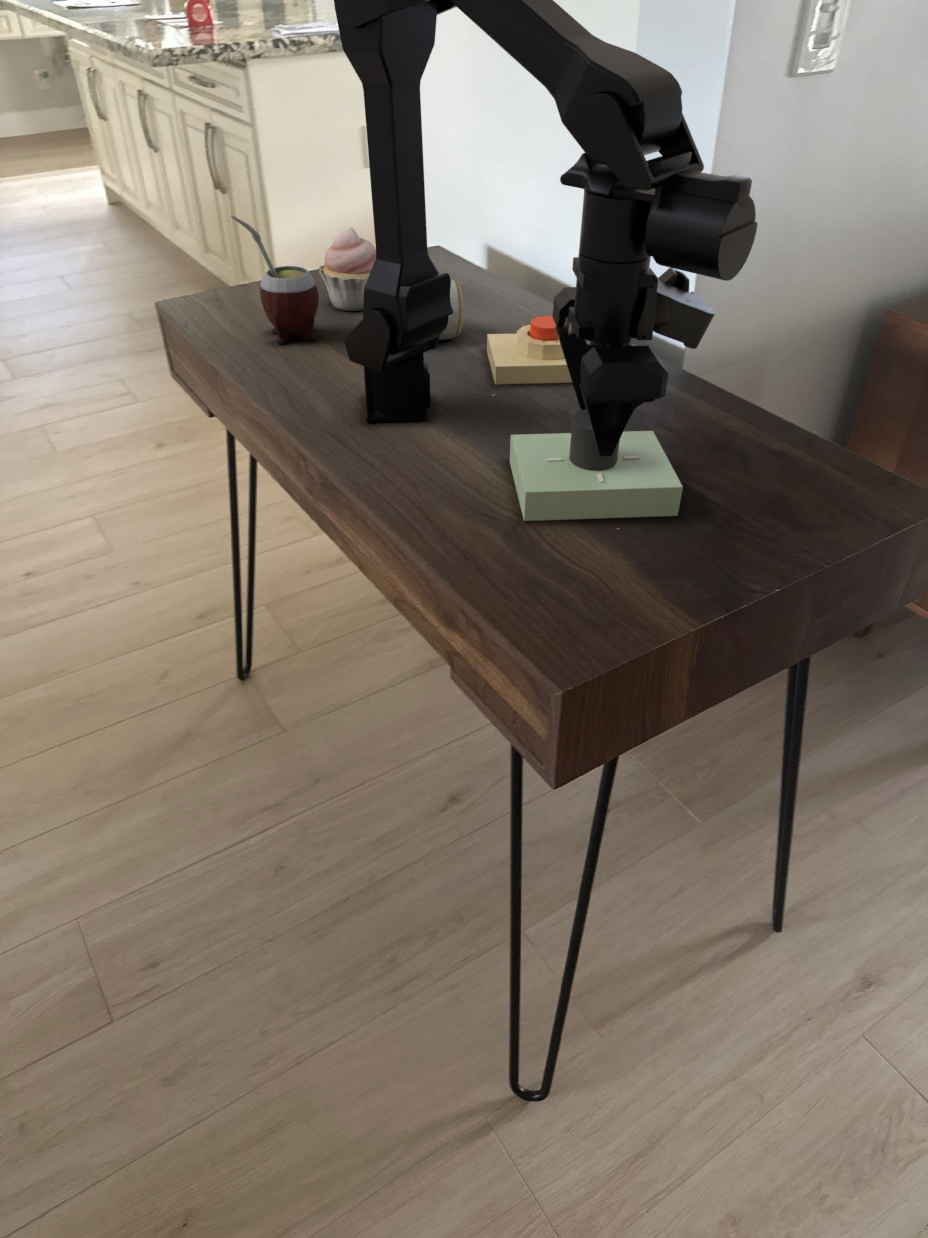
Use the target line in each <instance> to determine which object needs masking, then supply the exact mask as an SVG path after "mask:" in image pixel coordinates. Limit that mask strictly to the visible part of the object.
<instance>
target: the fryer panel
mask: <svg viewBox="0 0 928 1238" xmlns="http://www.w3.org/2000/svg"><path fill="white" fill-rule="evenodd" d="M509 442H510V444H509V445H510V447H509V465H510V470H511V473H512V474H511V475H512V478H513V481H514V486H515V490H516V494H517V498H518V502H519V507H520V510H521V514H522V519H523V521H524V522H537V521H538V522H539V521H567V520H595V519H596V520H597V519H599V520H600V519H624V518H653V517H654V518H656V517H678V516H679V511H680V505H681V500H682V494H683V489H684V486H683V484H682V483H681V481H680V479H679V477H678V475H677V473H676V472H675V469H674V467H673V466H672V464H671V462H670V460H669V458H668V456H667V454H666V453H665V451H664V449H663V447H662V445H661V443H660V441H659V440H658V437H657V435H656V434H655V431H654V430H633V431H632V430H631V431H630V430H629V431H623V433H622V436H621V438H620V442H619V450H618V458H617V462H616V464H615V465H614V466H613V467H611V468H608V469H605V470H587V469H583V468H580V467H578V466H576V465H574V464H573V463H572V462H571V461H570V459H569V454H570V443H571V432H562V433H561V432H560V433H557V432H556V433H526V434H525V433H523V434H522V433H521V434H510V441H509Z"/></svg>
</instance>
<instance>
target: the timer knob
mask: <svg viewBox="0 0 928 1238" xmlns="http://www.w3.org/2000/svg"><path fill="white" fill-rule="evenodd" d="M571 422H572V423H571V432H570V433H571V443H570V454H569V459H570V461H571V462H572V463H573V464H574V465H576V466H578V467H580V468H583V469H587V470H605V469H608V468H611V467H613V466H614V465H615V464H616V462H617V458H618V450H619V442H620V440H619V442H618V444H617V446H616V449H615V451H614V453H613V455H612V456H610V457H601V456H600V455H599V453H598V449H597V446H596V442H595V439H594V435H593V431H592V428H591V424H590V421H589V417H588V413H587V410H586V409H585V410H581V409H580V410H578V411H576V412H575V413H574V414H573V416H572V421H571Z"/></svg>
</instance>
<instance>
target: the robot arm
mask: <svg viewBox="0 0 928 1238" xmlns="http://www.w3.org/2000/svg"><path fill="white" fill-rule="evenodd" d="M333 5H334V11H335V17H336V22H337V27H338V32H339V33H338V34H339V38H340V42H341V48H342V50H343V53H344V54H345V56H346V58H347V60H348V62H349V63H350V65H351V67H352V68H353V70H354V72H355V73H356V75H357V77H358V79H359V81H360V83H361V85H362V91H363V102H364V103H363V104H364V115H365V128H366V129H365V130H366V141H367V153H368V164H369V165H368V166H369V167H368V168H369V179H370V190H371V191H370V192H371V206H372V216H373V229H374V230H373V231H374V243H375V249H376V259H375V262H374V264H373V267H372V269H371V272H370V274H369V277H368V279H367V282H366V284H365V287H364V301H363V310H362V319H361V320H360V321H359V322H358V324H357V325H356V326H355V327H354V328H353V330H351V331H350V333H349V334H348V335H347V336H346V337H345V338H344V341H343V344H344V346H345V350H346V353H347V357H348V359H349V361H350V362H352V363H355V364H358V365H360V366H363V376H364V379H363V380H364V391H365V392H364V394H365V407H364V408H365V411H364V413H365V415H364V419H365V422H366V423H397V422H400V423H401V422H424V421H427V420H428V416H427V410H428V409H430V408H431V371H430V364H429V363H428V362H425V356H424V353H426V352H429V351H433V350H435V349H437V347H438V344H439V341H440V340H439V337H440V334H441V333H442V332H443V331H444V330H445V329H446V328H447V325H448V318H449V315H451V314H453V309H452V306H451V301H450V287H451V280H452V279H451V275H450V274H449V273H448V272H439V270H438V269H437V267H436V265H435V263H434V261H433V260H432V258H431V257H430V255H429V251H428V232H427V210H426V209H427V208H426V189H425V169H424V165H425V164H424V145H423V126H422V125H423V123H422V121H423V120H422V101H421V81H422V78H423V75H424V72H425V70H426V68H427V65H428V62H429V59H430V58H431V54H432V52H433V49H434V47H435V42H436V32H437V18H438V15H441V14H443V13H446V12H449V11H451V10H453V9H455V8H457V9H458V10H460V11H461V12H462V13H463V14H464V15H465V16H466V17H467V18H468V19H469V20H470V21H471V22H473V23H474V24H475V26H477V27H478V28H479V29H481V30H482V31H483V32H484V33H485V34H486V35H487V36H488V37H489V38H490V39H492V41H494V42H495V43H496V44H497V45H499V47H500V48H501V49H503V50H504V51H505V52H506V53H507V54H508V55H509V56H510V57H511V58H512V59H514V60H515V61H516V62H517V63H518V64H519V65H520V66H522V68H524V70H526V71H527V72H528V73H529V74H530V76H532V77H534V79H536V80H537V81H538V82H539V83H540V84H541V85H542V86H544V88H545V89H546V91H547V92H548V93H549V95H551V98H553V100H554V101H555V105H556V108H557V112H558V114H559V118H560V121H561V123H562V125H563V126H564V128H566V130H567V131H568V133H569V134H570V135H571V137H572V138H573V139H574V140H575V142H576V143H577V144H578V145H579V147H580V148H581V149H582V151H583V153H581V155H580V157H579V159H578V160H577V161H576V162H575V163H574V164H573V165H572V166H571V167H570V168H568V170H566V171H565V172H564V173H563V174H561V175H560V177H559V182H560V183H561V185H563V186H566V187H567V186H568V187H572V188H577V189H582V190H583V199H582V210H581V211H582V212H581V224H580V234H579V248H578V256H577V257H576V256H573V257H572V272H573V274H574V275H575V277H576V281H575V283H576V284H575V286H568V287H567V286H565V287H563V288H562V289H561V290H560V291H559V292H558V293H557V294H556V295H555V296H554V297H553V305H552V317H553V320H554V322H555V324H556V326H555V329H556V332H557V335H558V338H559V342H560V345H561V348H562V351H563V354H564V358H565V361H566V364H567V367H568V371H569V373H570V377H571V380H572V382H571V383H572V385H573V390H574V393H575V397H576V400H577V402H578V406H579V408H580V411H581V410H585V409H586V410H587V413H588V417H589V421H590V424H591V428H592V431H593V435H594V439H595V442H596V446H597V449H598V453H599V455H600V456H601V457H610V456H612V455H613V453H614V451H615V449H616V446H617V444H618V442H619V440H620V438H621V436H622V433H623V432H625V429H626V427H627V425H628V423H629V421H630V419H631V417H632V415H633V413H634V412H635V410H636V409H637V408H638V407H640V406H641V405H642V404H645V403H651V402H654V401H655V400H660V399H662V398H663V397H665V396H666V392H667V387H668V380H669V371H668V370H667V368H666V366H665V365H664V363H663V362H662V360H661V359H660V357H659V356H658V355H657V353H656V352H655V351H654V350H653V349H652V348H651V347H650V346H649V345H632V343H631V342H632V339H636V341H653V334H654V333H656V334H657V335H660V336H663V337H666V338H668V339H671V340H674V341H677V342H679V343H682V344H683V346H684V347H686V348H689V349H692V350H695V349H697V348H698V347H699V345H700V343H701V341H702V339H703V338H704V335H705V334H706V331H707V330H708V328H709V326H710V324H711V322H712V321H713V319H714V317H715V316H716V312H715V311H714V310H713V309H712V308H711V307H710V305H709V304H708V303H707V301H706V300H705V299H703V298H702V297H700V296H699V295H698V294H697V293H696V292H695V291H691V292H690V279H689V277H688V276H687V275H686V273H684V272H687V273H692V274H696V275H700V276H704V277H708V278H712V279H717V280H721V281H725V282H726V281H732V280H733V279H734V278H735V277H737V276H738V275H739V273H740V272H741V270H742V269H743V267H744V266H745V265H746V262H747V261H748V258H749V256H750V253H751V251H752V248H753V245H754V243H755V238H756V236H757V235H756V234H757V229H758V222H757V221H756V218H757V217H756V215H757V214H756V212H757V211H756V205H755V201H754V199H753V198H752V197H751V196H750V195H751V189H752V184H753V180H752V178H751V177H749V176H742V175H734V174H733V175H727V176H726V175H719V174H713V173H707V172H703V171H704V168H705V165H704V161H703V159H702V157H701V154H700V153H699V150H698V148H697V145H696V142H695V140H694V137H693V135H692V133H691V130H690V128H689V125H688V124H687V121H686V118H685V116H684V114H683V101H682V96H683V90H682V87H681V85H680V83H679V81H678V79H677V78H676V77H675V75H673V74H672V73H671V72H670V71H669V70H667V69H665V68H664V67H662V66H660V65H658V64H656V63H655V62H653V61H651V60H649V59H648V58H645V57H644V56H642V55H640V54H638V53H636V52H634V51H632V50H629V49H626V48H624V47H620V46H617V45H615V44H611V43H609V42H606V41H604V40H602V39H600V38H599V37H597V36H595V35H593V34H592V33H591V32H590V31H589V30H587V29H586V27H584V26H583V25H582V24H581V23H579V21H577V20H576V19H575V18H574V17H573V16H572V15H570V14H569V12H567V11H566V10H565V9H563V8H562V7H561V6H560V5H559V4H558V3H557V2H556V1H554V0H333ZM657 152H658V153H659V154H660V156H658V157H654V158H651V159H648V160H647V159H646V157H645V156H648V155H651V154H654V153H657ZM651 259H653V260H654V262H655V263H656V264H657V265H659V266H662V267H666V268H668V269H666V270H665V271H664V272H663V273H662V274H661V275H660V276H657V274H656V273H655V272H654V271H653V270H652V268H651Z"/></svg>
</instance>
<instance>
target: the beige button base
mask: <svg viewBox="0 0 928 1238" xmlns="http://www.w3.org/2000/svg"><path fill="white" fill-rule="evenodd" d="M486 353H487V357H488V361H489V365H490V366H489V367H490V369H491V373H492V378H493V381H494V385H520V384H521V385H522V384H523V385H525V384H526V385H527V384H562V383H564V384H565V383H572V380H571V377H570V373H569V371H568V367H567V364H566V361H565V358H564V354H563V351H562V348H561V345H560V342H559V340H557V341H542V340H537V339H533V338H531V337H530V324H526V325H523V326H521V327H520V328H519V329H518V330H516V333H487V334H486Z"/></svg>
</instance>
